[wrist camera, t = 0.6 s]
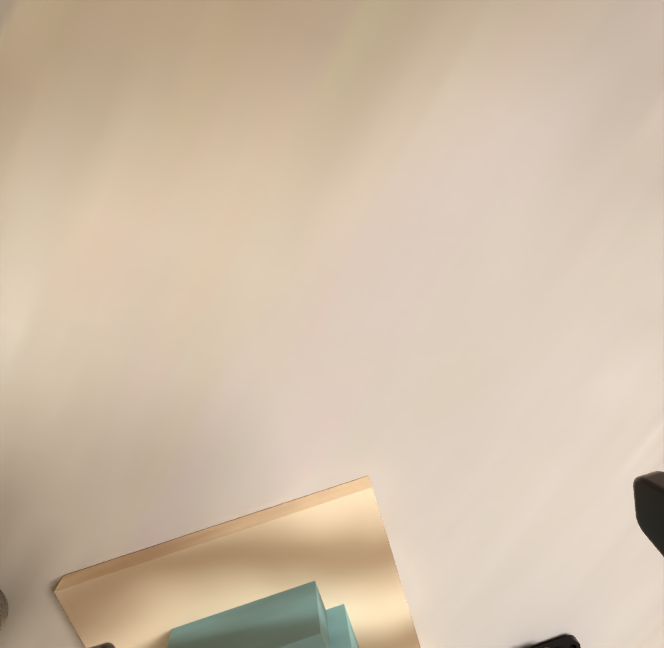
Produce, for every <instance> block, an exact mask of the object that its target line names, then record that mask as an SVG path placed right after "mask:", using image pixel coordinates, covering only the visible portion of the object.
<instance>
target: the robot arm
mask: <svg viewBox="0 0 664 648" xmlns="http://www.w3.org/2000/svg"><path fill="white" fill-rule="evenodd" d="M633 488H634V499H635V511H636V518H637V521H638V524H639V526H640V528H641V529H642V531H643V532H644V534H645V535H646V536H647V537H648V538H649V540H650V541H651V542H652V543H653V544H654V546H655V547H656V548H657V549H658V550H659V552H660V553H661V554H662V555H663V557H664V472H661V471H655V472H651V473H648V474H645V475H642V476H639V477H637V478H635V480H634V483H633ZM89 648H116V647H115V646H114V645H113V644H112V643H110V642H105V643H102V644H99V645H96V646H92V647H89ZM534 648H581V647H580V644H579V642H578V641H577V639H576V638H575V637H574V636H573V635H568V636H565V637H562V638H559V639H556V640H553V641H551V642H548V643H545V644H542V645H539V646H536V647H534Z"/></svg>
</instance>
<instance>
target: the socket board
mask: <svg viewBox="0 0 664 648" xmlns="http://www.w3.org/2000/svg"><path fill="white" fill-rule="evenodd" d="M54 594H55V595H56V597H57V599H58V601H59V602H60V604H61V606H62V608H63V609H64V611H65V613H66V615H67V616H68V618H69V620H70V622H71V623H72V625H73V627H74V629H75V630H76V632H77V634H78V636H79V637H80V639H81V641H82V643H83V644H84V646H85V648H89V647H92V646H96V645H99V644H102V643H105V642H110V643H112V644H113V645H114V646H115V647H116V648H421V647H420V644H419V641H418V637H417V634H416V631H415V627H414V624H413V621H412V617H411V614H410V611H409V607H408V604H407V601H406V597H405V594H404V591H403V588H402V584H401V581H400V578H399V574H398V571H397V568H396V564H395V561H394V558H393V554H392V551H391V548H390V545H389V541H388V538H387V535H386V531H385V528H384V525H383V521H382V518H381V515H380V511H379V508H378V505H377V501H376V498H375V495H374V492H373V488H372V485H371V482H370V480H369V477H368V476H366V477H363V478H360V479H357V480H354V481H351V482H348V483H345V484H342V485H339V486H336V487H333V488H330V489H327V490H323V491H320V492H317V493H314V494H311V495H308V496H305V497H302V498H299V499H296V500H293V501H290V502H287V503H284V504H281V505H278V506H275V507H272V508H269V509H266V510H263V511H259V512H256V513H253V514H250V515H247V516H244V517H241V518H238V519H235V520H232V521H229V522H226V523H223V524H220V525H217V526H214V527H211V528H208V529H205V530H202V531H198V532H195V533H192V534H189V535H186V536H183V537H180V538H177V539H174V540H171V541H168V542H165V543H162V544H159V545H156V546H153V547H150V548H147V549H144V550H141V551H138V552H134V553H131V554H128V555H125V556H122V557H119V558H116V559H113V560H110V561H107V562H104V563H101V564H98V565H95V566H92V567H89V568H86V569H83V570H80V571H77V572H73V573H70V574H67V575H64V576H63V577H62V579H61V581H60V582H59V584H58V586H57V587H56V589H55V591H54Z"/></svg>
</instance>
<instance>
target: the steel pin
mask: <svg viewBox="0 0 664 648" xmlns="http://www.w3.org/2000/svg"><path fill="white" fill-rule="evenodd" d="M7 615H8V603H7V600H6V598H5V596H4V594H3V593H2V591H1V590H0V629H1V627H2V626H3V624H4V622H5V621H6V618H7Z"/></svg>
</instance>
